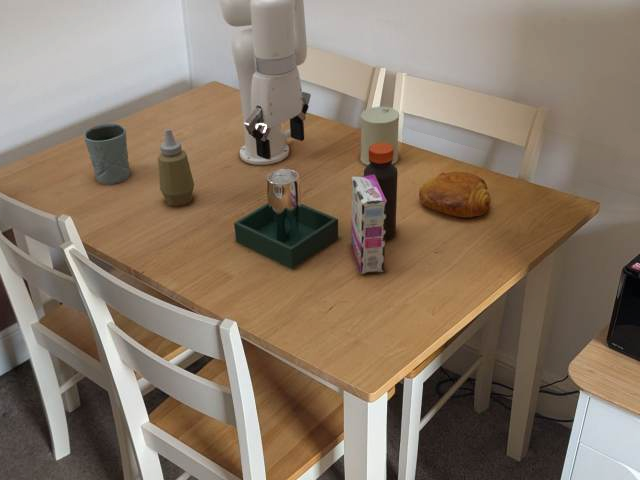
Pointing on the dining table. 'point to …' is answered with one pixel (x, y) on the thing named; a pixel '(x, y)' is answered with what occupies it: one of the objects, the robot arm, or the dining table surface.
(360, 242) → the candy bar box
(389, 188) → the vinegar
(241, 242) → the tote
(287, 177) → the beer glass
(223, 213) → the dining table surface
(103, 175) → the grey green cup
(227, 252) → the dining table surface
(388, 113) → the can
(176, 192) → the squeeze bottle
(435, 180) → the croissant
